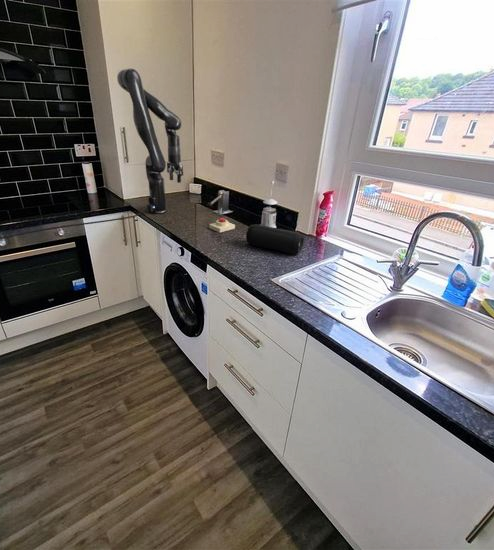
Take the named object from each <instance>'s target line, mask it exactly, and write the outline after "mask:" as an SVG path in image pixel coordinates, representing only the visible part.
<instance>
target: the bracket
mask: <svg viewBox="0 0 494 550" xmlns="http://www.w3.org/2000/svg"><path fill="white" fill-rule="evenodd" d="M223 191H225V190H224V189H222V190H218V191H217V197H219V196H220V195H221V194H220V193H221V192H223ZM229 197H230V191H228V190H227V191H225V192H223V194H222V197H221V198H220V199H219V200H217V210H212V212H214V213H216V214H218V215H225V214H230V213H233V212H234V211H233V210H230V209H229V199H230V198H229Z"/></svg>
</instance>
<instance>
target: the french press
mask: <svg viewBox="0 0 494 550" xmlns="http://www.w3.org/2000/svg"><path fill="white" fill-rule="evenodd" d="M270 184H271V185H273V184H275V181H274V180H271V181H270ZM270 191H271V192H270V195H272V194H273V189H271V190H270ZM262 203H263V204H264V205H269V206H266V207H263V210H262V212H261V222H260V224H259V225H263V226H268V227H273V228H277V225H276V219H277V209H276V208H275V207H274V208H273V207H271V206H274V205H277V204H278V201H277V200H275V199H272V198H267V199H264V200H263V201H262Z"/></svg>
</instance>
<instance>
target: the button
mask: <svg viewBox="0 0 494 550" xmlns="http://www.w3.org/2000/svg"><path fill="white" fill-rule="evenodd" d="M218 220H219V222H221V223H224V222H226V220H227V219H226V218H225V217H219V218H218Z"/></svg>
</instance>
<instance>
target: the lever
mask: <svg viewBox="0 0 494 550" xmlns="http://www.w3.org/2000/svg"><path fill="white" fill-rule="evenodd" d="M223 192H226V191H223ZM223 192H221V193H220V194H221V195H220V196H219V197H218V196H217V197H216V198H214V199H213V200H212V201H211V202H210V201H209V202H208V203H206V207H207V208H208V209H211V208H213V205H214V204H215V203H216V202H218V200H219V199H220V198H221V197H222V194H223Z"/></svg>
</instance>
